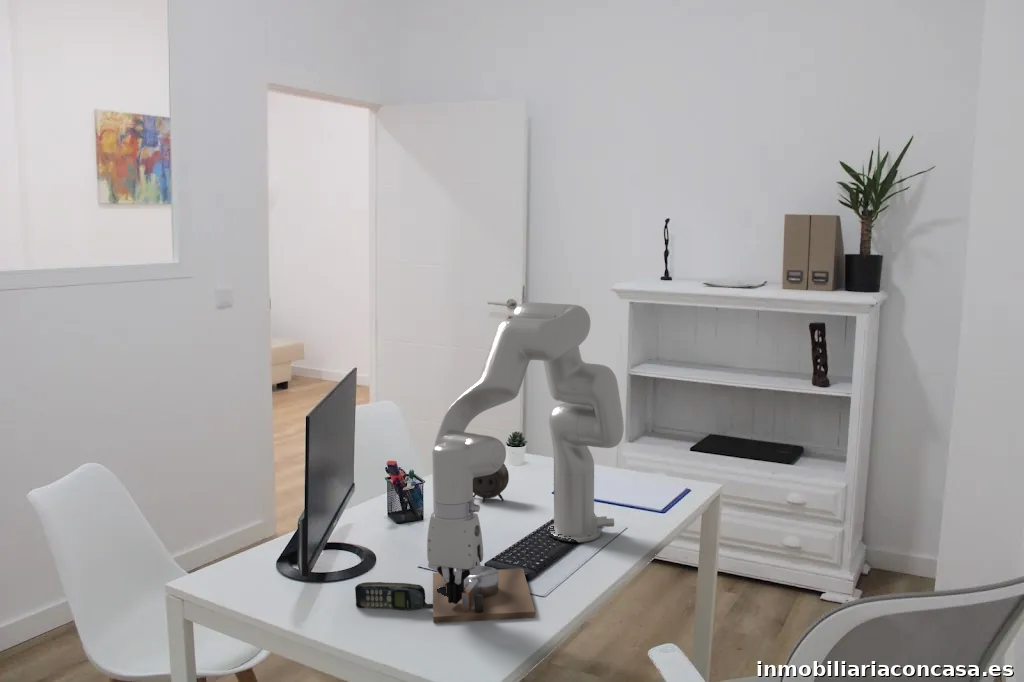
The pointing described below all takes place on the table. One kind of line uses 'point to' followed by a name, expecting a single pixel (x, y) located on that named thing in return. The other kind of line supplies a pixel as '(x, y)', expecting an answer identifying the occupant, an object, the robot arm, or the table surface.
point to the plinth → (487, 601)
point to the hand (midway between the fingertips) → (455, 600)
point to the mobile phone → (390, 596)
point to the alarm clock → (491, 484)
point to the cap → (479, 586)
